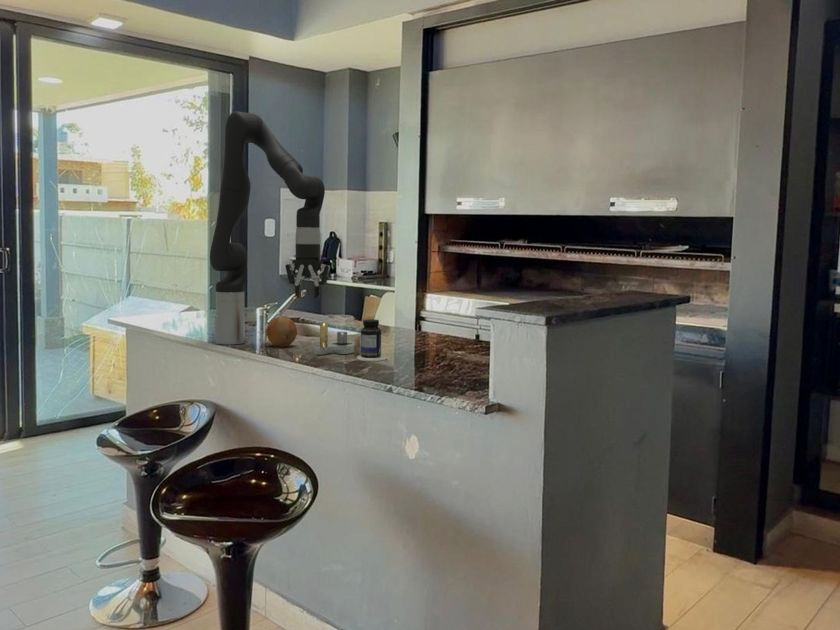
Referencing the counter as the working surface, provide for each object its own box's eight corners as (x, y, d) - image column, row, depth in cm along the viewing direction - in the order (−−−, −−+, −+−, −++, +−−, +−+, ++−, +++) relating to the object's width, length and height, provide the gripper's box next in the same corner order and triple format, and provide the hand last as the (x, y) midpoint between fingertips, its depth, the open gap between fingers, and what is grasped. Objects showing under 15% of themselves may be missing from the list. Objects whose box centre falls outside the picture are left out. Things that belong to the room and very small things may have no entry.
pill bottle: (370, 354, 235) (370, 318, 234) (385, 356, 231) (385, 320, 230) (356, 356, 231) (356, 320, 229) (371, 359, 227) (371, 322, 226)
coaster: (358, 361, 226) (358, 359, 226) (355, 356, 235) (355, 354, 235) (388, 361, 227) (388, 359, 227) (385, 356, 236) (385, 354, 236)
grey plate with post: (340, 345, 253) (340, 317, 252) (368, 349, 246) (369, 320, 245) (302, 352, 239) (302, 322, 238) (331, 356, 232) (331, 326, 231)
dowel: (354, 356, 235) (354, 336, 234) (353, 355, 236) (354, 336, 236) (360, 356, 235) (360, 336, 234) (359, 355, 237) (359, 336, 236)
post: (337, 351, 243) (337, 332, 242) (336, 350, 246) (336, 331, 245) (347, 351, 243) (347, 332, 242) (346, 350, 246) (346, 331, 246)
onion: (285, 343, 258) (285, 313, 257) (303, 347, 251) (303, 316, 250) (260, 346, 251) (260, 315, 250) (278, 349, 244) (278, 318, 243)
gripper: (281, 242, 231) (281, 298, 233) (327, 243, 229) (327, 300, 231) (289, 241, 239) (289, 296, 241) (334, 242, 237) (333, 297, 239)
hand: (307, 297), depth 236 cm, fingers open, 5 cm apart
